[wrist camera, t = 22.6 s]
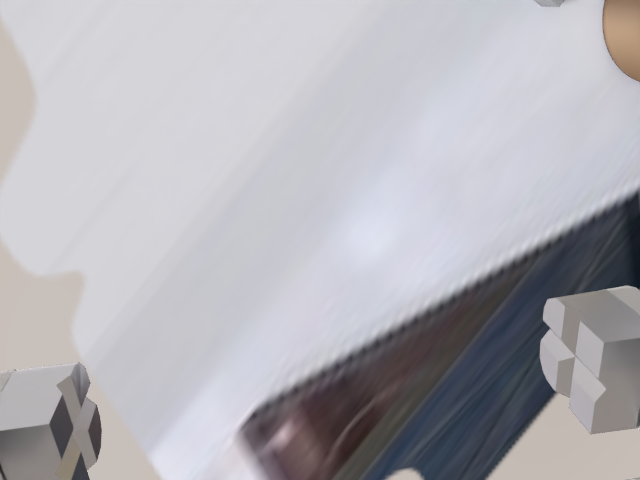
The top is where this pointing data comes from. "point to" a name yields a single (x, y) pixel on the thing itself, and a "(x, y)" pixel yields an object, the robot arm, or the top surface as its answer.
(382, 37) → the top surface
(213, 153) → the top surface
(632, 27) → the walnut coaster
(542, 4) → the parts tray
